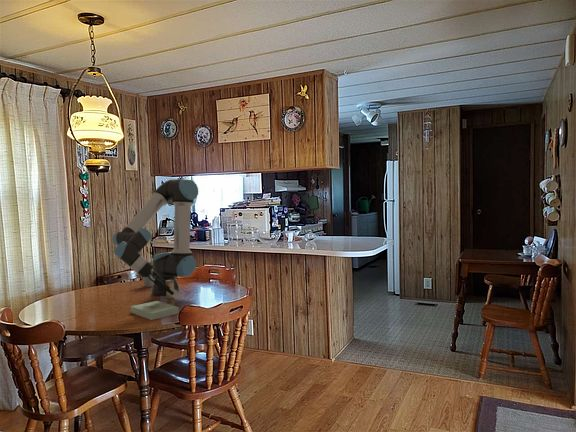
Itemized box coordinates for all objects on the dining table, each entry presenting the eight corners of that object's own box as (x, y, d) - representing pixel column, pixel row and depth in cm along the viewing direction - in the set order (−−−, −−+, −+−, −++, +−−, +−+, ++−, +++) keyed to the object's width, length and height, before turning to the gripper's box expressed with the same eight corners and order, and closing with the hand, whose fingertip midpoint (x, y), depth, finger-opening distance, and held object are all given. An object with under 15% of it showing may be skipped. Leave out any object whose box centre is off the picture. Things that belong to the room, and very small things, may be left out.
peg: (165, 304, 222) (163, 280, 221) (172, 302, 225) (171, 279, 224) (169, 305, 219) (168, 281, 218) (176, 304, 222) (175, 280, 221)
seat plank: (130, 312, 211) (130, 306, 211) (157, 306, 221) (157, 300, 221) (151, 320, 197) (150, 313, 197) (178, 313, 207) (178, 307, 207)
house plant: (159, 282, 285) (158, 257, 284) (165, 285, 273) (163, 259, 272) (136, 285, 278) (135, 259, 277) (141, 288, 266) (140, 261, 265)
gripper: (138, 269, 226) (173, 298, 230) (134, 275, 209) (172, 306, 214) (149, 258, 227) (183, 287, 231) (146, 263, 210) (183, 295, 215)
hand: (178, 296), depth 223 cm, fingers closed on peg, 4 cm apart
